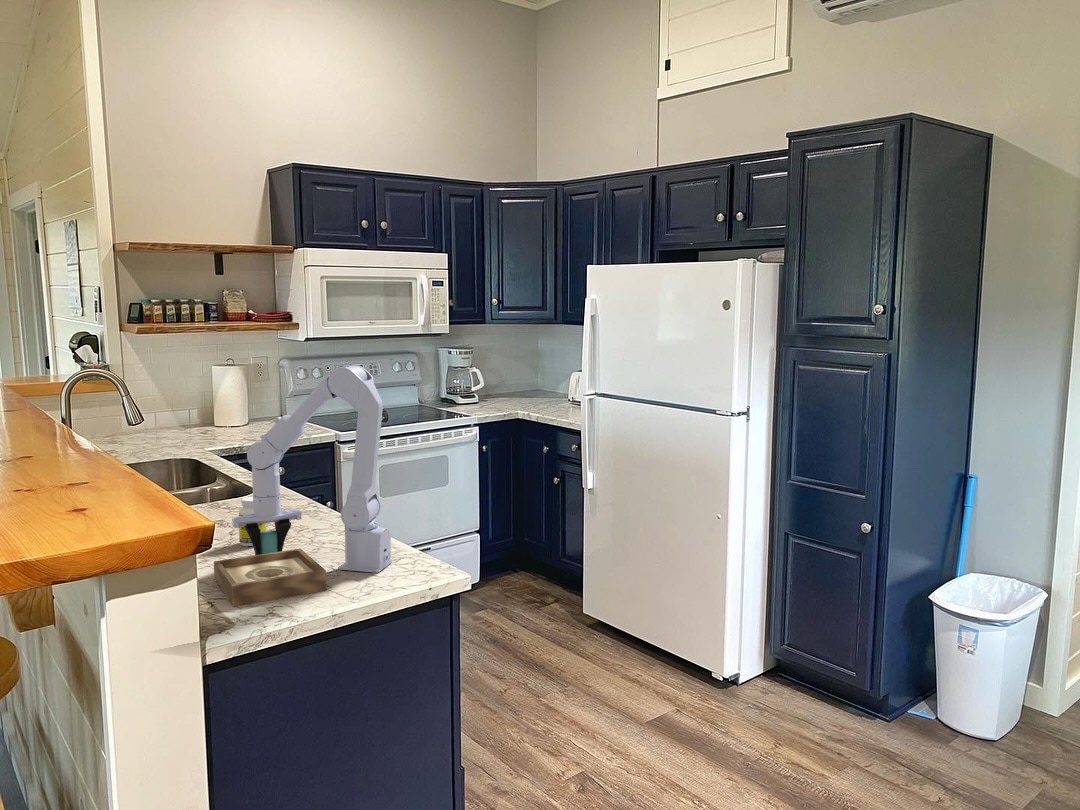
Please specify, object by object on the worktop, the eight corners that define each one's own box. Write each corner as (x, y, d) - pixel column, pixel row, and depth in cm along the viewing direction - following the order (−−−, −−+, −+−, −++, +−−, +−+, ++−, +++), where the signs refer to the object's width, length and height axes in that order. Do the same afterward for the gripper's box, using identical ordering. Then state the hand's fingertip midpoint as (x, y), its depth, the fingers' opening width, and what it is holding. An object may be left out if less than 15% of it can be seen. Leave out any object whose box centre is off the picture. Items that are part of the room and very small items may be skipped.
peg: (281, 561, 184) (280, 530, 183) (272, 566, 180) (271, 535, 179) (265, 559, 185) (264, 529, 184) (255, 565, 181) (254, 534, 180)
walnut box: (301, 566, 181) (300, 548, 180) (326, 589, 165) (326, 570, 165) (214, 580, 171) (213, 561, 171) (233, 606, 156) (232, 586, 155)
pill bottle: (238, 548, 194) (236, 502, 193) (240, 541, 200) (239, 496, 199) (266, 546, 196) (264, 500, 194) (267, 539, 202) (266, 495, 200)
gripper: (294, 487, 188) (296, 545, 190) (228, 494, 180) (230, 555, 182) (303, 493, 182) (305, 553, 184) (235, 501, 174) (237, 563, 176)
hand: (268, 554), depth 182 cm, fingers closed on peg, 4 cm apart
